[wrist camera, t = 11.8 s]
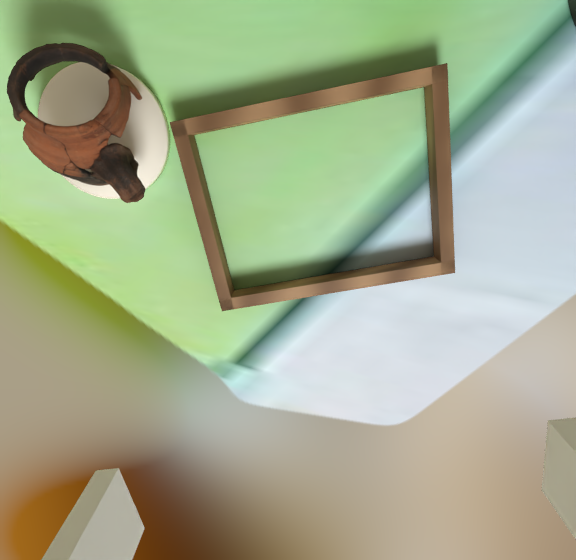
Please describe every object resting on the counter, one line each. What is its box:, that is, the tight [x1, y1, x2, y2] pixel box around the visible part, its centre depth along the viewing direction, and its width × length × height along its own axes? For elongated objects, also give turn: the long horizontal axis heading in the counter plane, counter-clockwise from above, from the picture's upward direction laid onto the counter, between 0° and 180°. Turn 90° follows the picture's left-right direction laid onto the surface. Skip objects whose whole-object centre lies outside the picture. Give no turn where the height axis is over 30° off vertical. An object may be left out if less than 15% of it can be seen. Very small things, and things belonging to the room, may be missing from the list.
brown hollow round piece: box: [7, 43, 145, 203], centre depth 30 cm, size 12×9×8 cm
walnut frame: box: [170, 63, 455, 311], centre depth 34 cm, size 22×17×2 cm
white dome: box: [38, 62, 170, 199], centre depth 33 cm, size 11×11×1 cm
